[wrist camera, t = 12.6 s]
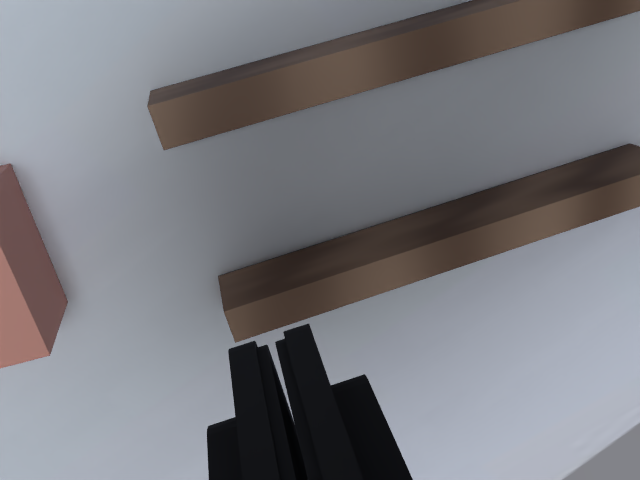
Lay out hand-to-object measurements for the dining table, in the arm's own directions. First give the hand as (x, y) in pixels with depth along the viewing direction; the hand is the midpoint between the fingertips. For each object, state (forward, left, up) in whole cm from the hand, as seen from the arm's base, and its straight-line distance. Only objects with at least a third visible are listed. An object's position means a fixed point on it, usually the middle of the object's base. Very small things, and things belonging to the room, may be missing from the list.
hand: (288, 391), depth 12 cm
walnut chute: (-8, 0, -13) cm, 15 cm away
